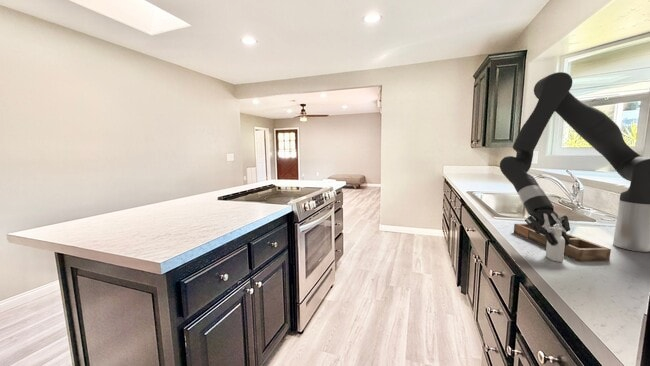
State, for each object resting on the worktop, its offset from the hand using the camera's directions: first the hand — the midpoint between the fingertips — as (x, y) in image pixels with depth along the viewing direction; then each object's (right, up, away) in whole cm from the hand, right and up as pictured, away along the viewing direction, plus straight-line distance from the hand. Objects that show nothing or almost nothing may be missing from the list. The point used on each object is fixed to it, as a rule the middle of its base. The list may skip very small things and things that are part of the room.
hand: (561, 244), depth 84 cm
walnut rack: (+11, -4, +15) cm, 19 cm away
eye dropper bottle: (0, -6, +3) cm, 6 cm away
